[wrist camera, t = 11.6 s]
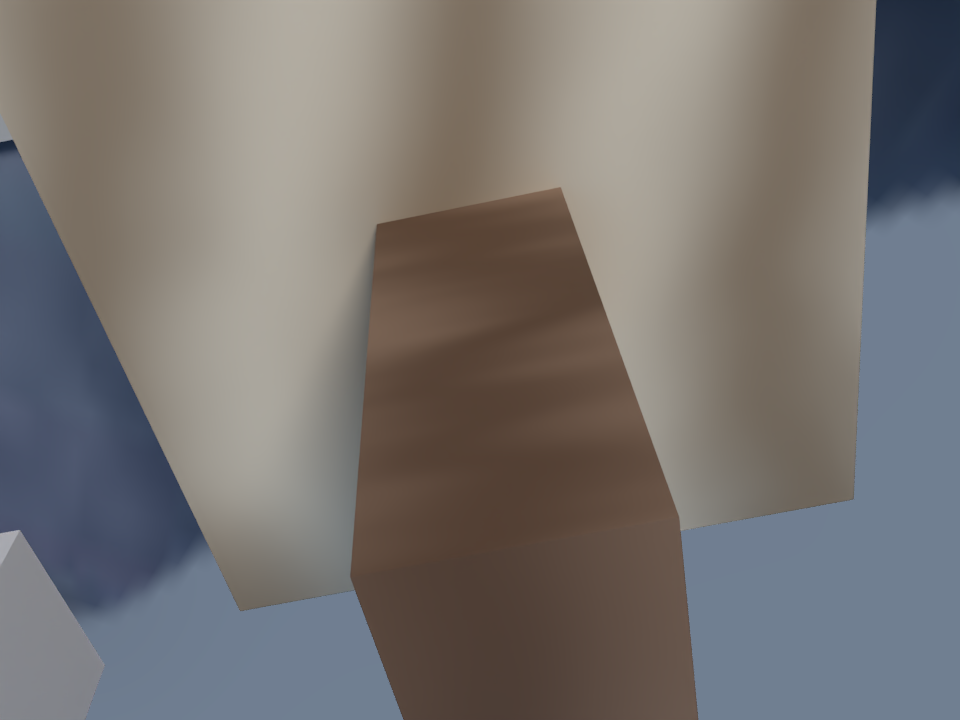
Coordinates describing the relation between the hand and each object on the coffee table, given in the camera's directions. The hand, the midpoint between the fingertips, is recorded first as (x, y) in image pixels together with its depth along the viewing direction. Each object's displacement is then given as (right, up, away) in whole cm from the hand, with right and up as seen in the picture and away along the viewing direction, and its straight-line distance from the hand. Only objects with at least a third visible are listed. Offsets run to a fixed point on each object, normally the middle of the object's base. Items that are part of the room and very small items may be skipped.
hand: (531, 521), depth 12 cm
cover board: (-1, +4, +7) cm, 8 cm away
